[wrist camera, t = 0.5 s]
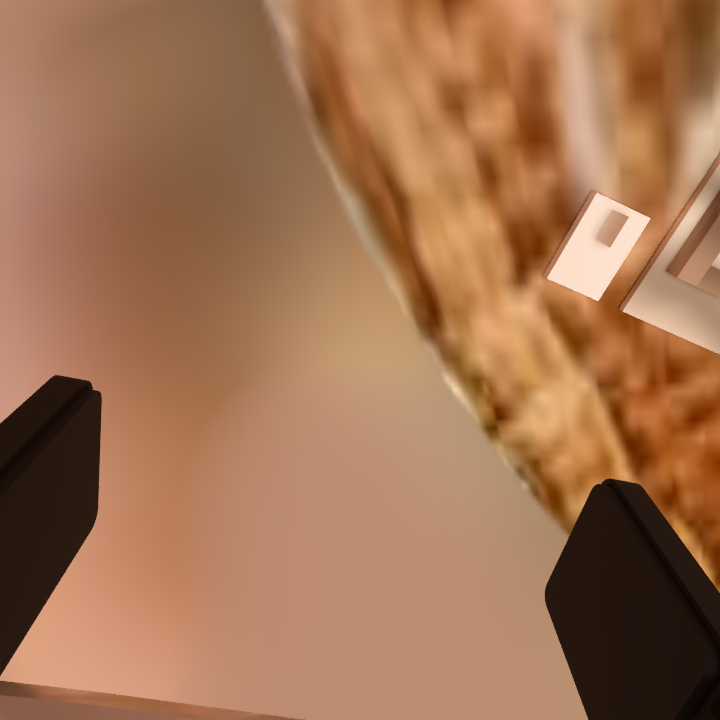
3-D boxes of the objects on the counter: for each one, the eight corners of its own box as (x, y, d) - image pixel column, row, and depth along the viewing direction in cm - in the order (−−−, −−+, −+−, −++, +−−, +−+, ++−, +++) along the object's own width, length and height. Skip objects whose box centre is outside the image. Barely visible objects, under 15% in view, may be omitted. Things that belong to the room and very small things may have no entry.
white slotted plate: (589, 189, 37) (612, 198, 33) (642, 214, 37) (669, 225, 34) (541, 273, 39) (558, 289, 36) (591, 295, 39) (612, 313, 36)
